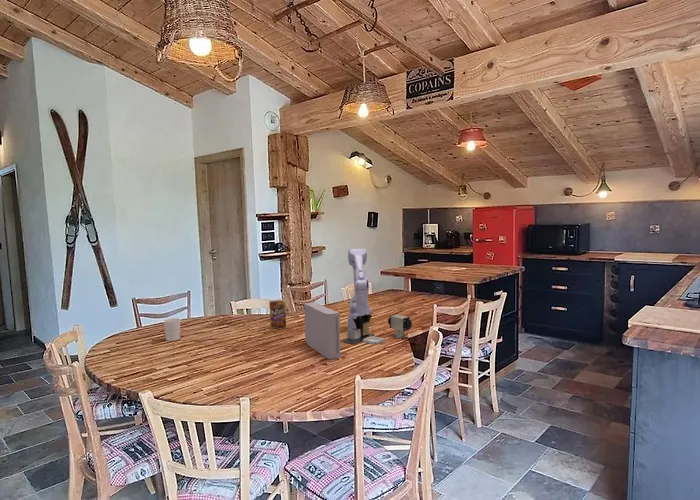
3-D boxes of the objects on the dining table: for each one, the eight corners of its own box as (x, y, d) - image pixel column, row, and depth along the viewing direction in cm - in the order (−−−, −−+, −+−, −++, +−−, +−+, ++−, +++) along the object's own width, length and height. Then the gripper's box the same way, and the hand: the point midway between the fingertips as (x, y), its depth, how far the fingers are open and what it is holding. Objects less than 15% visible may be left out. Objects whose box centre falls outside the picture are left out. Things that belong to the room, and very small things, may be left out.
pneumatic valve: (406, 341, 222) (406, 316, 221) (387, 336, 230) (387, 313, 229) (413, 338, 226) (413, 314, 225) (394, 334, 234) (394, 311, 233)
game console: (328, 360, 196) (327, 314, 194) (304, 344, 220) (303, 303, 219) (340, 357, 199) (339, 312, 197) (315, 342, 223) (314, 302, 221)
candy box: (269, 329, 249) (268, 301, 248) (270, 327, 254) (269, 300, 252) (286, 328, 251) (285, 301, 249) (286, 326, 255) (285, 299, 253)
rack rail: (342, 343, 220) (342, 339, 220) (363, 335, 234) (363, 332, 234) (354, 345, 216) (354, 342, 216) (374, 337, 230) (374, 334, 230)
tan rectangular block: (356, 334, 227) (355, 322, 226) (361, 332, 231) (361, 320, 230) (363, 335, 224) (363, 323, 224) (368, 333, 228) (368, 321, 227)
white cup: (184, 338, 235) (183, 319, 234) (172, 342, 228) (171, 322, 227) (173, 336, 238) (172, 317, 237) (161, 340, 231) (160, 321, 230)
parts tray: (362, 342, 220) (361, 339, 220) (371, 339, 227) (371, 335, 227) (375, 345, 216) (375, 342, 215) (384, 341, 222) (384, 338, 222)
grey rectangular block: (347, 341, 221) (347, 329, 221) (353, 339, 225) (353, 327, 225) (355, 343, 219) (354, 330, 218) (360, 340, 222) (360, 328, 222)
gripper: (359, 306, 218) (360, 334, 219) (376, 301, 229) (377, 328, 231) (348, 305, 222) (348, 332, 223) (365, 300, 234) (365, 326, 235)
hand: (362, 330), depth 227 cm, fingers closed on tan rectangular block, 4 cm apart
